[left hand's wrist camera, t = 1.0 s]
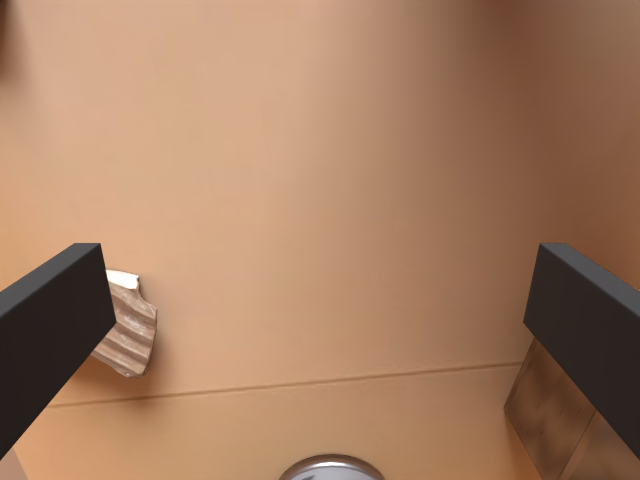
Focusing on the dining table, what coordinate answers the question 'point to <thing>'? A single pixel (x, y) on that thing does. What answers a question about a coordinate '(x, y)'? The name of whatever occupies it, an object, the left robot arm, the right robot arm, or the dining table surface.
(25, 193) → the dining table surface
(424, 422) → the dining table surface
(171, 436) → the dining table surface
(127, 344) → the stone
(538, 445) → the chest
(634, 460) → the lid
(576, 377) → the left robot arm
